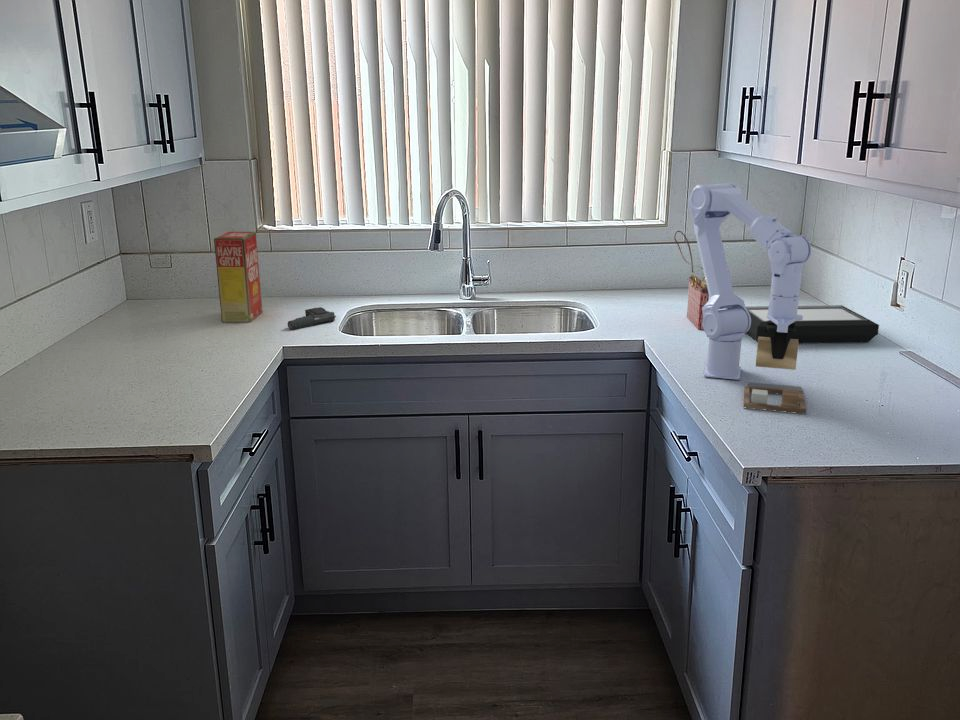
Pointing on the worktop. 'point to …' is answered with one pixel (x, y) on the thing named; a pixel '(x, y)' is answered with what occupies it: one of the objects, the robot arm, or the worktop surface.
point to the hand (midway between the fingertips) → (777, 356)
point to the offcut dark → (790, 398)
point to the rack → (773, 407)
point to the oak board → (767, 360)
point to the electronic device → (819, 325)
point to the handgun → (312, 318)
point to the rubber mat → (775, 386)
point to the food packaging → (238, 276)
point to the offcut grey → (759, 396)
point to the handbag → (695, 295)
